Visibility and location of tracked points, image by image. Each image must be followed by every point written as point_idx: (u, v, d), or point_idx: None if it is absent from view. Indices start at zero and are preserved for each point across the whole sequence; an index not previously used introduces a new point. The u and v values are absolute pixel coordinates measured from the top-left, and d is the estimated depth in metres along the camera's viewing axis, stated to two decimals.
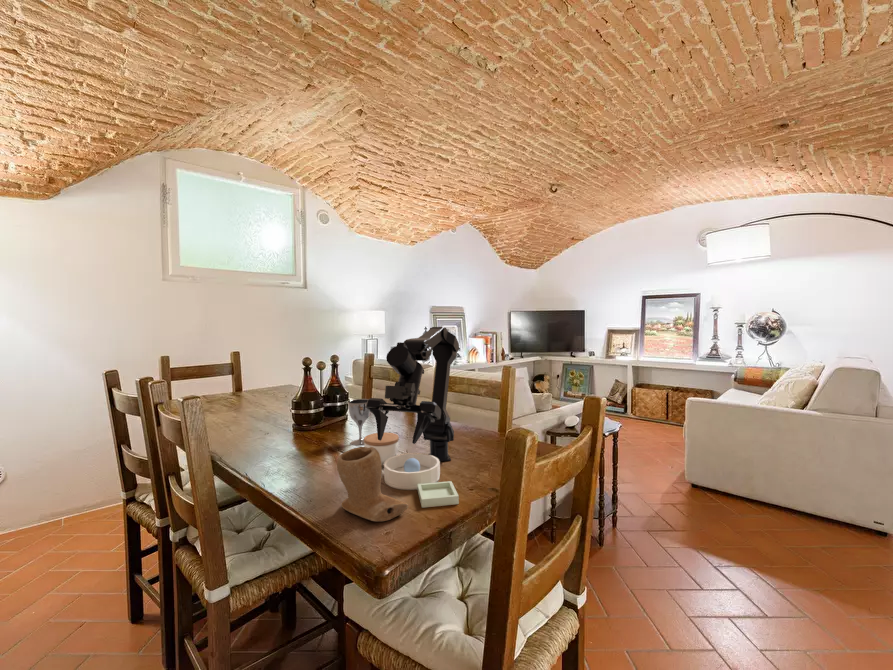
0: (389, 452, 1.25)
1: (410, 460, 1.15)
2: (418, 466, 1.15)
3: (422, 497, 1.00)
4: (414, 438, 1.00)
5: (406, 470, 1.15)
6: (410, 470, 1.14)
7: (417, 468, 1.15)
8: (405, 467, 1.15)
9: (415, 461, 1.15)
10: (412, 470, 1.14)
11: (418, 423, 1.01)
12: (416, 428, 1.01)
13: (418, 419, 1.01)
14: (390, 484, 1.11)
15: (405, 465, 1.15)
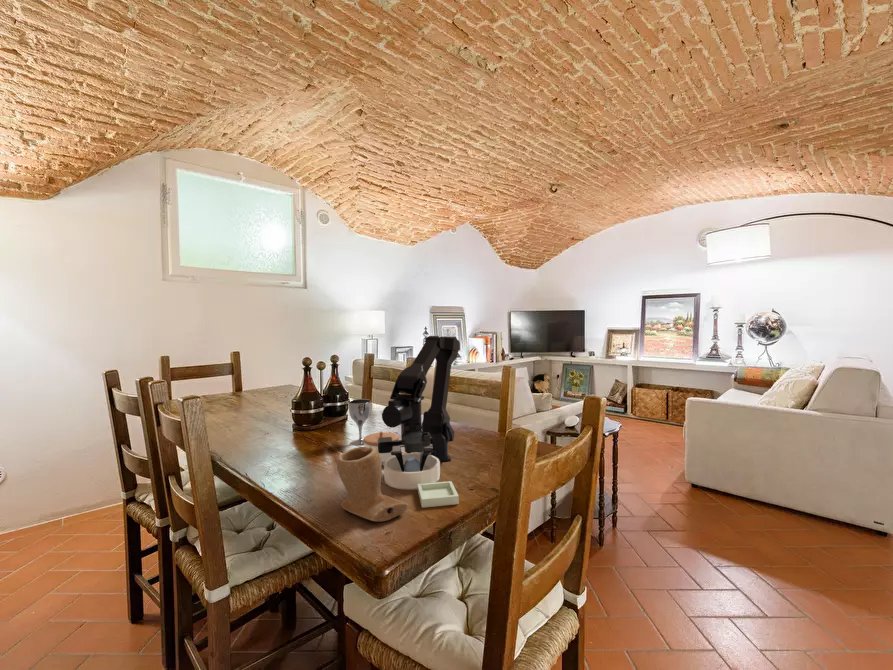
0: None
1: (410, 460, 1.15)
2: (418, 466, 1.15)
3: (422, 497, 1.00)
4: (421, 469, 1.16)
5: (406, 470, 1.15)
6: (410, 470, 1.14)
7: (417, 468, 1.15)
8: (405, 467, 1.15)
9: (415, 461, 1.15)
10: (412, 470, 1.14)
11: (424, 457, 1.15)
12: (422, 461, 1.16)
13: (423, 455, 1.15)
14: (390, 484, 1.11)
15: (405, 465, 1.15)
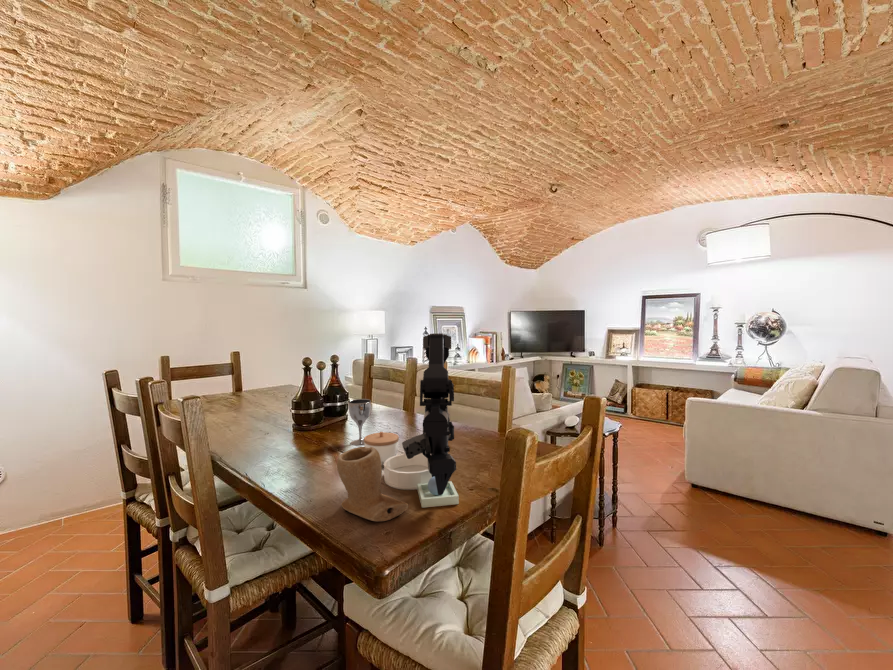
0: (389, 452, 1.25)
1: (433, 477, 1.04)
2: (432, 487, 1.02)
3: (422, 497, 1.00)
4: (437, 491, 0.99)
5: None
6: None
7: (430, 488, 1.02)
8: None
9: (433, 480, 1.03)
10: None
11: (435, 477, 0.98)
12: (436, 481, 0.99)
13: None
14: (390, 484, 1.11)
15: None
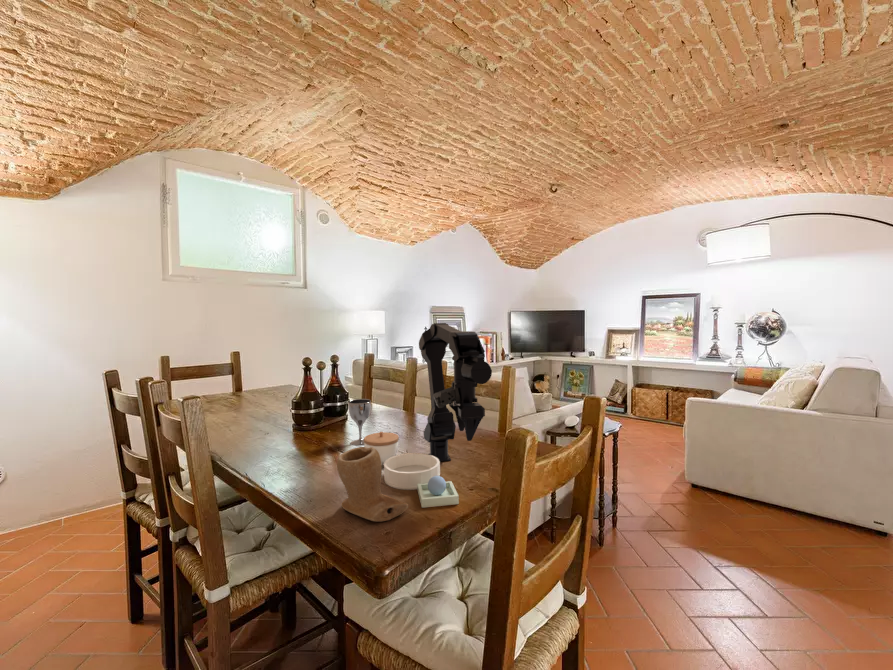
0: (389, 452, 1.25)
1: (433, 476, 1.04)
2: (432, 486, 1.02)
3: (422, 497, 1.00)
4: None
5: None
6: None
7: (430, 487, 1.02)
8: None
9: (433, 480, 1.03)
10: None
11: (464, 424, 1.06)
12: None
13: None
14: (390, 484, 1.11)
15: None
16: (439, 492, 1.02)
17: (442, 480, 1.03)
